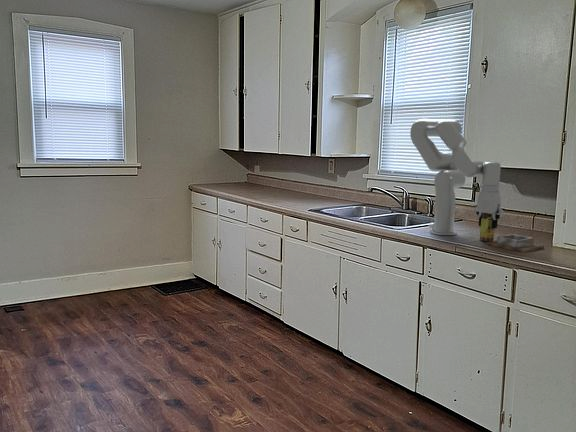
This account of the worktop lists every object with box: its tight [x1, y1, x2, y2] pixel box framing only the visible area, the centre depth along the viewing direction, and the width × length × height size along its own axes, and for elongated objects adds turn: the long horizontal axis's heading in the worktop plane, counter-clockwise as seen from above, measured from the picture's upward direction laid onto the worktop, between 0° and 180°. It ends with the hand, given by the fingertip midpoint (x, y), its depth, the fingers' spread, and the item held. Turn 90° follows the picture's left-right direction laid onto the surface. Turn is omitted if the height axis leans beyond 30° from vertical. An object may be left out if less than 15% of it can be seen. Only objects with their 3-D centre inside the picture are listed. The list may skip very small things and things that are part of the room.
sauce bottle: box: [479, 213, 496, 242], centre depth 252 cm, size 7×6×20 cm
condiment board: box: [486, 233, 545, 253], centre depth 240 cm, size 18×15×4 cm
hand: (487, 226), depth 252 cm, fingers closed on sauce bottle, 6 cm apart
